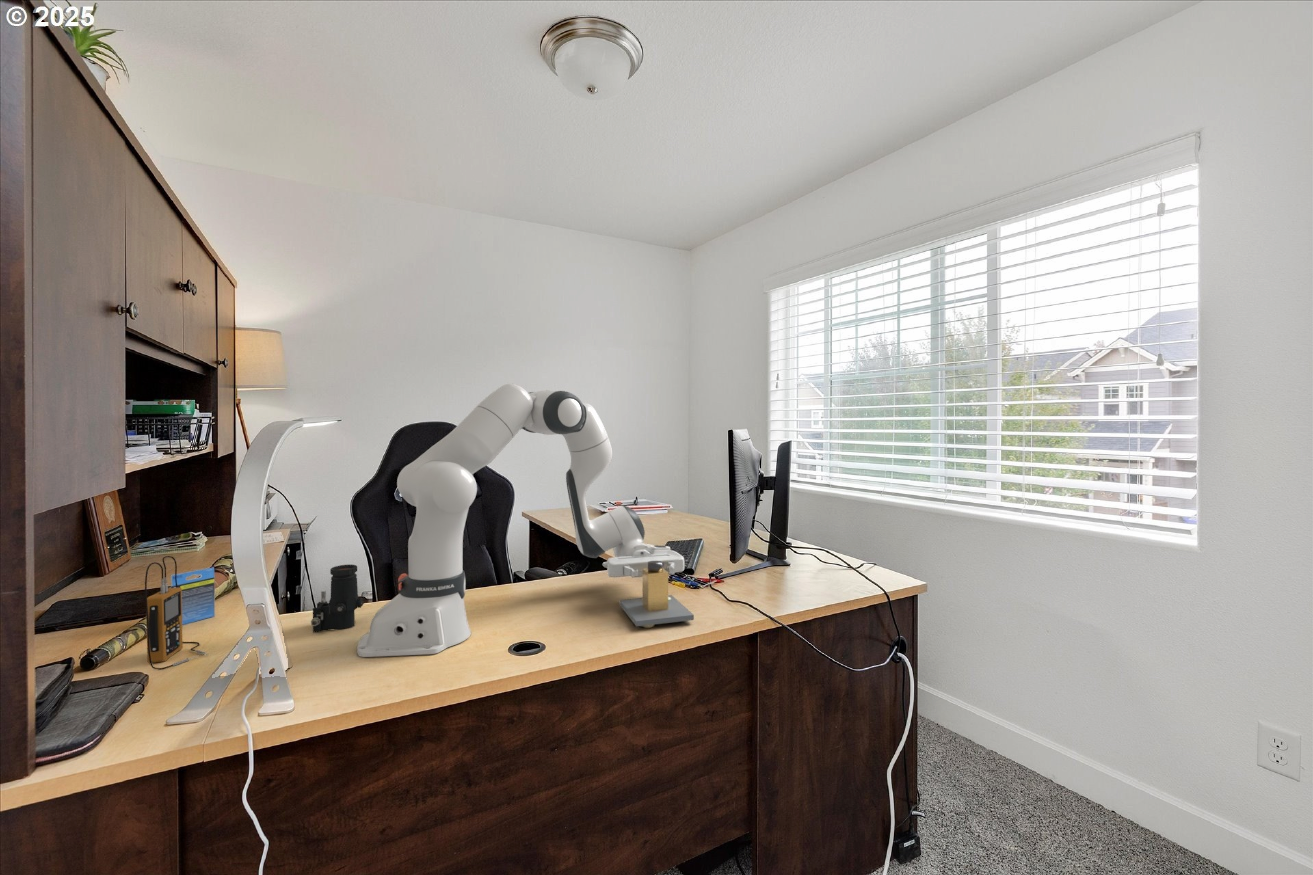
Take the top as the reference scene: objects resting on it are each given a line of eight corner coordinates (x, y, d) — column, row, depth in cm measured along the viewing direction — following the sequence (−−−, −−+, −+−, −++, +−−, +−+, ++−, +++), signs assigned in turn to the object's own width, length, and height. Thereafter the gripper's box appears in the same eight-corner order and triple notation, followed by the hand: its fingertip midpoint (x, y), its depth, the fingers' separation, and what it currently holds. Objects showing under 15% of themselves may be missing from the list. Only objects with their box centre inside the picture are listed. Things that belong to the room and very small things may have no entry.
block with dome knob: (648, 611, 133) (648, 565, 133) (642, 604, 138) (642, 560, 138) (668, 609, 135) (668, 564, 135) (661, 602, 140) (661, 559, 139)
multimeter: (198, 666, 108) (196, 563, 108) (135, 672, 105) (132, 567, 105) (231, 638, 122) (230, 547, 122) (177, 643, 120) (175, 550, 119)
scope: (319, 564, 131) (366, 561, 134) (320, 622, 132) (367, 618, 135) (308, 573, 124) (358, 570, 126) (309, 635, 124) (359, 630, 127)
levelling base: (636, 630, 127) (636, 619, 127) (619, 608, 142) (619, 598, 142) (693, 624, 131) (693, 613, 131) (671, 603, 146) (671, 593, 146)
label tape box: (206, 614, 138) (206, 564, 138) (216, 616, 136) (215, 566, 136) (163, 625, 130) (161, 573, 130) (172, 628, 128) (170, 575, 128)
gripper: (601, 550, 148) (612, 563, 135) (674, 545, 154) (691, 556, 141) (601, 574, 148) (612, 589, 135) (674, 568, 154) (692, 581, 141)
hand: (653, 572), depth 138 cm, fingers open, 8 cm apart
